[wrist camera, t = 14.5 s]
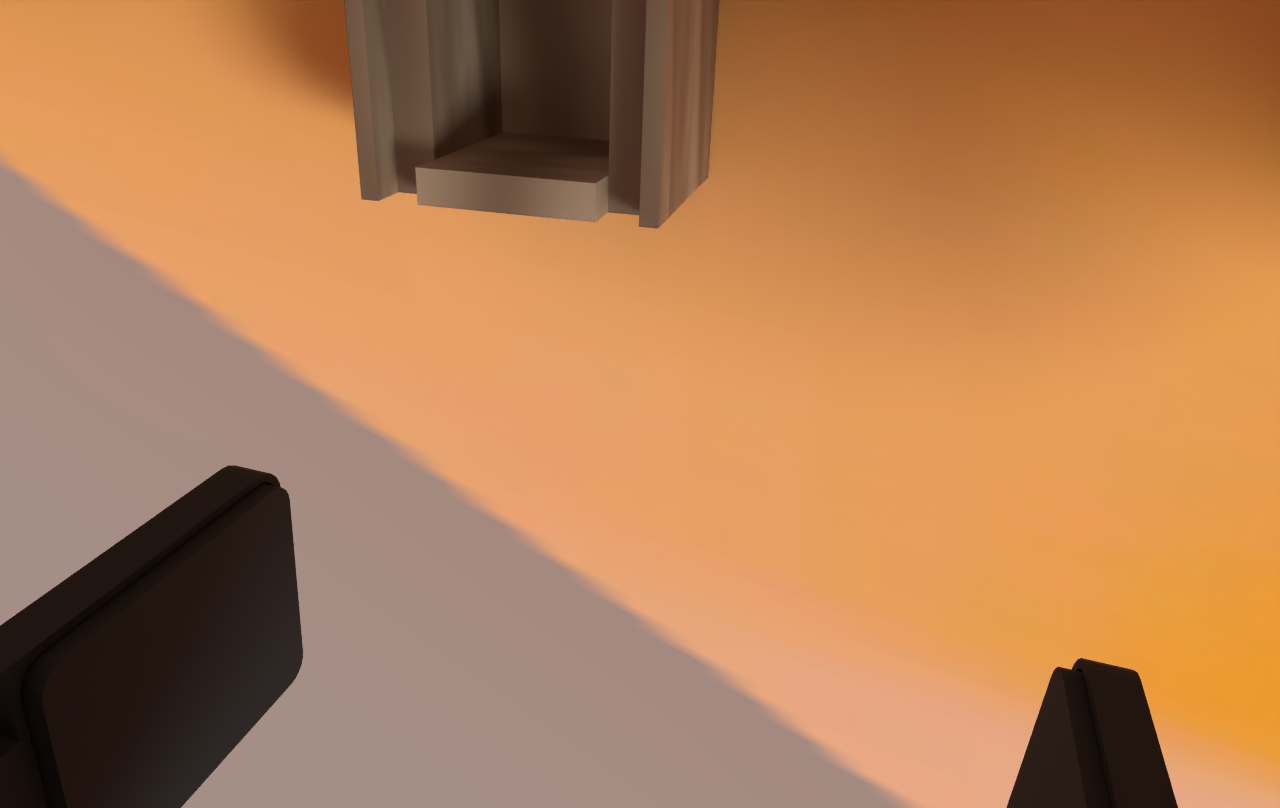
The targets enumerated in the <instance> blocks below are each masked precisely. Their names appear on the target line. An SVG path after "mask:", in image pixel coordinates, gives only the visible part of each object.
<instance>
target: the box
mask: <svg viewBox="0 0 1280 808" xmlns="http://www.w3.org/2000/svg"><path fill="white" fill-rule="evenodd" d="M344 2H345V14H346V25H347V37H348V48H349V60H350V71H351V83H352V94H353V106H354V117H355V129H356V140H357V152H358V163H359V175H360V186H361V198H362V199H364V200H374V201H379V200H381V199H384V198H386V197H388V196H391V195H393V194H395V193H397V192H403V193H413V194H417V202H418V205H425V206H435V207H445V208H455V209H466V210H476V211H486V212H496V213H506V214H516V215H526V216H537V217H547V218H557V219H567V220H577V221H587V222H596V221H598V220H599V219H600V218H601V217H603V216H604V215H605V214H606V213H607V212H611V213H622V214H632V215H639V227H648V228H659V227H660V226H661V225H662V224H663V223H664V222H665V221H666V220H667V219H668V218H669V217H670V216H671V215H672V213H673V212H674V211H675V210H676V209H677V208H678V207H679V206H680V205H681V204H682V203H683V202H684V201H685V200H686V199H687V198H688V197H689V196H690V195H691V194H692V193H693V192H694V191H695V190H696V189H697V188H698V187H699V186H700V185H701V184H702V183H703V182H704V181H705V180H706V179H707V178H708V169H709V153H710V137H711V121H712V105H713V89H714V73H715V57H716V41H717V26H718V10H719V0H344Z"/></svg>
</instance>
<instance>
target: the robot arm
mask: <svg viewBox="0 0 1280 808" xmlns="http://www.w3.org/2000/svg"><path fill="white" fill-rule="evenodd" d="M302 659H303V648H302V636H301V625H300V613H299V601H298V591H297V579H296V568H295V556H294V544H293V532H292V521H291V510H290V499H289V495H288V493H287V491H286V490H284V489H283V488H281V487H280V483H279V481H278V479H277V478H276V477H275V476H274V475H272V474H270V473H265V472H261V471H256V470H252V469H248V468H243V467H239V466H227V467H225V468H223V469H221V470H220V471H218V472H217V473H215V474H214V475H212V476H211V477H210V478H208V479H207V480H206V481H204V482H203V483H201V484H200V485H198V486H197V487H196V488H194V489H193V490H191V491H190V492H189V493H187V494H186V495H184V496H183V497H181V498H180V499H179V500H177V501H176V502H174V503H173V504H172V505H170V506H169V507H167V508H166V509H164V510H163V511H162V512H160V513H159V514H157V515H156V516H155V517H153V518H152V519H150V520H149V521H148V522H146V523H145V524H144V525H142V526H140V527H139V528H138V529H136V530H135V531H133V532H132V533H131V534H129V535H128V536H126V537H125V538H124V539H122V540H121V541H119V542H118V543H116V544H115V545H114V546H112V547H111V548H110V549H108V550H107V551H105V552H104V553H102V554H101V555H99V556H98V557H97V558H95V559H94V560H93V561H91V562H90V563H88V564H87V565H86V566H84V567H83V568H81V569H80V570H78V571H77V572H76V573H74V574H73V575H71V576H70V577H68V578H67V579H66V580H64V581H63V582H61V583H60V584H59V585H57V586H56V587H54V588H53V589H51V591H49V592H47V593H46V594H44V595H43V596H42V597H40V598H39V599H37V600H36V601H35V602H33V603H32V604H30V605H29V606H27V607H26V608H25V609H23V610H22V611H20V612H19V613H18V614H16V615H15V616H13V617H12V618H11V619H9V620H8V621H6V622H5V623H4V624H2V625H1V626H0V808H181V807H182V806H183V805H184V804H185V802H186V801H187V800H188V799H189V798H190V797H191V796H192V795H193V793H194V792H195V791H196V790H197V789H198V787H200V786H201V784H202V783H203V782H204V781H205V780H206V779H207V778H208V777H209V775H210V774H211V773H212V772H213V771H214V770H215V769H216V768H217V767H218V765H219V764H220V763H221V762H222V761H223V760H224V759H225V758H226V756H227V755H228V754H229V753H230V752H231V751H232V750H233V749H234V748H235V746H236V745H237V744H238V743H239V742H240V741H241V740H242V739H243V737H244V736H245V735H246V734H247V733H248V732H249V731H250V730H251V728H252V727H253V726H254V725H255V724H256V723H257V722H258V721H259V720H260V718H261V717H262V716H263V715H264V714H265V713H266V712H267V710H268V709H269V708H270V707H271V706H272V705H273V704H274V703H275V702H276V700H277V699H278V698H279V697H280V696H281V695H282V694H283V693H284V692H285V690H286V689H287V688H288V687H289V686H290V685H291V684H292V682H293V680H295V678H296V676H297V674H298V672H299V670H300V667H301V664H302ZM1007 808H1178V806H1177V803H1176V799H1175V796H1174V793H1173V789H1172V786H1171V782H1170V779H1169V775H1168V772H1167V769H1166V765H1165V762H1164V758H1163V755H1162V751H1161V748H1160V744H1159V741H1158V738H1157V734H1156V731H1155V727H1154V724H1153V720H1152V717H1151V714H1150V710H1149V707H1148V703H1147V700H1146V696H1145V693H1144V690H1143V686H1142V683H1141V679H1140V677H1139V675H1138V673H1137V672H1136V671H1134V670H1131V669H1127V668H1122V667H1118V666H1113V665H1109V664H1105V663H1100V662H1096V661H1091V660H1087V659H1083V658H1080V659H1078V660H1077V661H1076V662H1075V664H1074V665H1073V668H1072V670H1070V669H1066V668H1061V667H1057V668H1056V669H1055V670H1054V671H1053V674H1052V676H1051V679H1050V682H1049V685H1048V688H1047V691H1046V694H1045V696H1044V699H1043V702H1042V705H1041V708H1040V711H1039V714H1038V717H1037V720H1036V723H1035V726H1034V729H1033V732H1032V735H1031V738H1030V741H1029V744H1028V746H1027V749H1026V752H1025V755H1024V758H1023V761H1022V764H1021V767H1020V770H1019V773H1018V776H1017V779H1016V782H1015V785H1014V788H1013V791H1012V793H1011V796H1010V799H1009V802H1008V805H1007Z"/></svg>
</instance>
